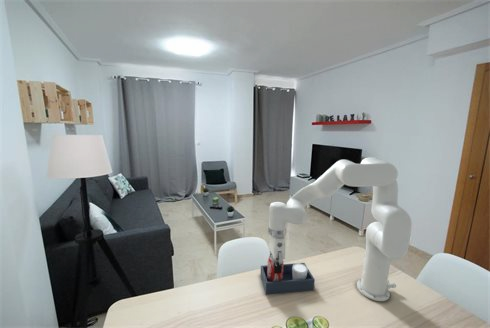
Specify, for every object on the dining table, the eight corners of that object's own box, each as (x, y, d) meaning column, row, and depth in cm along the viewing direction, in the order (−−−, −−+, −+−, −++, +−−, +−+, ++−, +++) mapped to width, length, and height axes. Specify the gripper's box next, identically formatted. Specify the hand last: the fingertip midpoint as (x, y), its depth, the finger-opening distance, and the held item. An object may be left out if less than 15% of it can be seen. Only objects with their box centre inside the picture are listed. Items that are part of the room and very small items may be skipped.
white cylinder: (306, 288, 98) (308, 274, 97) (291, 285, 100) (292, 271, 98) (306, 277, 105) (307, 264, 103) (291, 274, 106) (292, 261, 105)
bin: (303, 272, 109) (304, 262, 108) (313, 290, 98) (314, 279, 97) (260, 276, 106) (260, 265, 105) (265, 294, 95) (266, 283, 94)
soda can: (264, 277, 103) (264, 254, 100) (277, 273, 105) (278, 251, 103) (271, 288, 96) (272, 263, 94) (285, 283, 99) (286, 260, 97)
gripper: (292, 241, 88) (289, 280, 92) (279, 221, 105) (278, 255, 108) (273, 242, 87) (271, 281, 91) (264, 221, 104) (263, 255, 107)
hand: (275, 266), depth 99 cm, fingers closed on soda can, 7 cm apart
